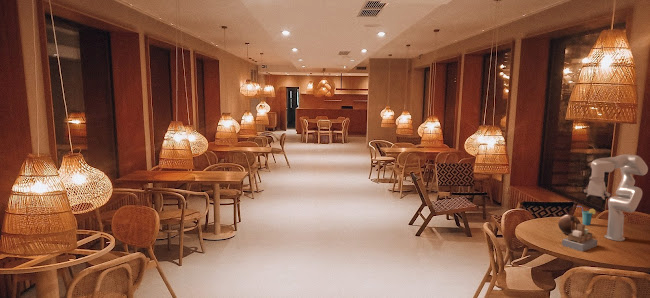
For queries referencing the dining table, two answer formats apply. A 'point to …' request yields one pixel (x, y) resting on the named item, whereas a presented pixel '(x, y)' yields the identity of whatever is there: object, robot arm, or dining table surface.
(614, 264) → the dining table surface
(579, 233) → the crate white
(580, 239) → the wooden caddy
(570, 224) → the wooden sphere
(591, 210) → the cup
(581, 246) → the block
